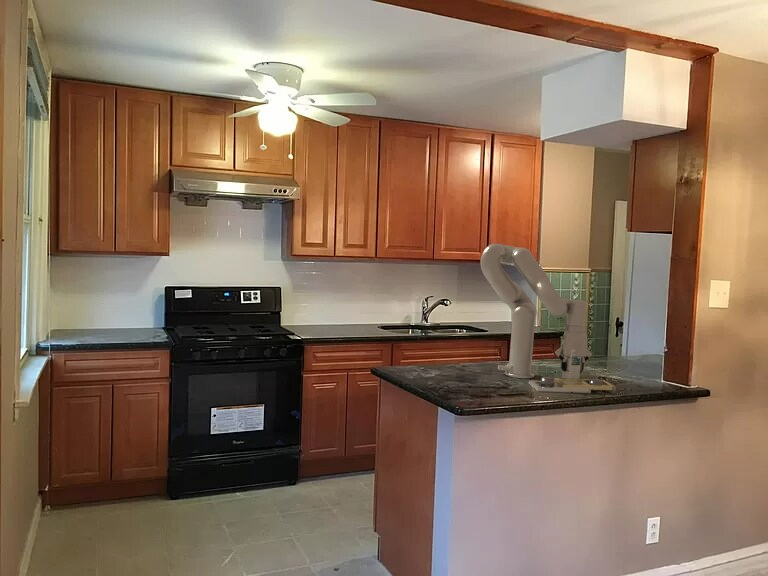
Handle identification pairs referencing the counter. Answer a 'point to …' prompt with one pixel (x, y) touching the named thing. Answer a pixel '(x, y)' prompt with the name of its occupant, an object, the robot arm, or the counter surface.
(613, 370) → the counter surface
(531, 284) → the robot arm
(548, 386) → the steel end link
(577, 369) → the syrup box
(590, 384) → the brass end link
